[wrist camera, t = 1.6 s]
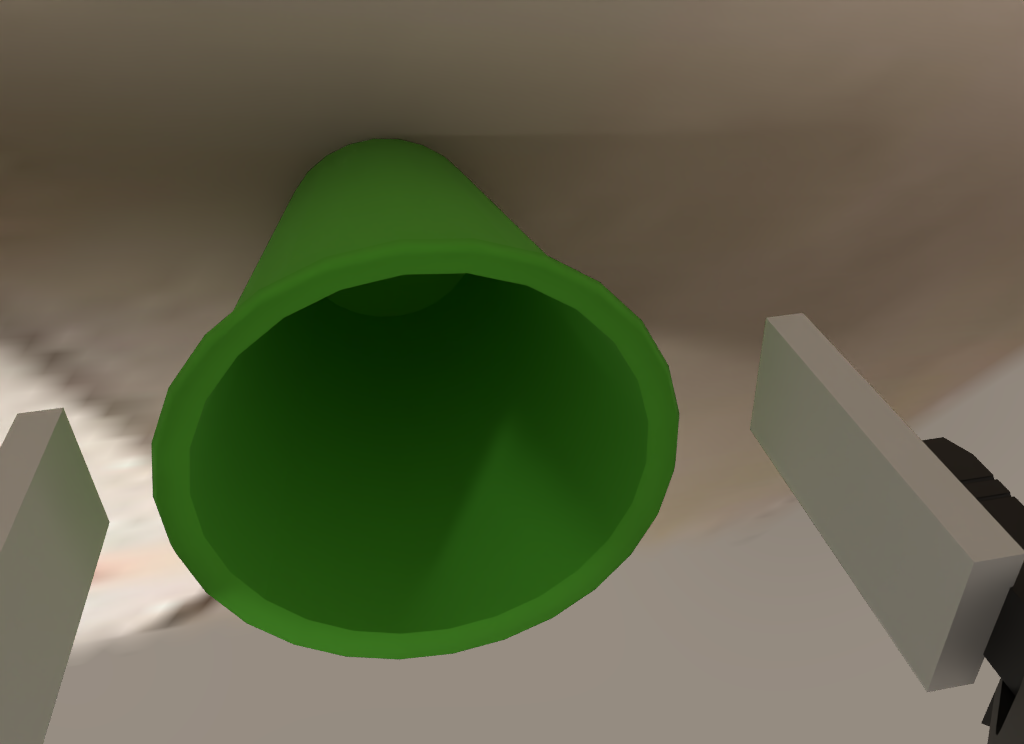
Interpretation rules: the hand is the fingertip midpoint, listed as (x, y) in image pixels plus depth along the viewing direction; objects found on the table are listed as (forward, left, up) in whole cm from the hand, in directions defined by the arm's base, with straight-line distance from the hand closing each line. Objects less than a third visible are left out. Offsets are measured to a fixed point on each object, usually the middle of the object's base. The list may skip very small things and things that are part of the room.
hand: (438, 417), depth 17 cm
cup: (0, 0, -9) cm, 9 cm away
